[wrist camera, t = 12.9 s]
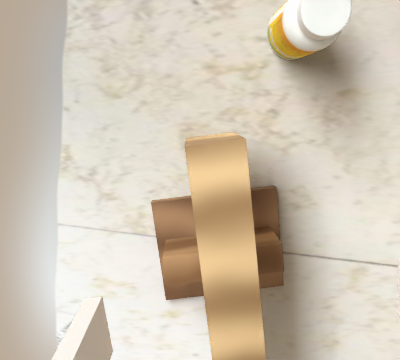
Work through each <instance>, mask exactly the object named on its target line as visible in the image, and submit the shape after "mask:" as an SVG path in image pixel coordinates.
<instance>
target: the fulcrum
mask: <svg viewBox="0 0 400 360" xmlns="http://www.w3.org/2000/svg"><path fill="white" fill-rule="evenodd" d="M250 189H251V200H252V211H253V222H254V233H255V243H256V254H257V265H258V276H259V287H260V288H267V287H275V286H283V271H284V265H283V251H282V243H281V242H280V231H279V217H278V204H277V190H276V187H275V186H266V187H258V188H250ZM151 205H152V211H153V218H154V224H155V231H156V237H157V244H158V250H159V257H160V263H161V270H162V276H163V283H164V289H165V296H166V300H171V299H179V298H187V297H195V296H203V295H204V291H203V283H202V276H201V268H200V260H199V252H198V245H197V237H196V229H195V221H194V214H193V206H192V198H191V196H185V197H177V198H169V199H160V200H152V202H151Z"/></svg>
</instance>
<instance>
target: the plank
mask: <svg viewBox="0 0 400 360" xmlns="http://www.w3.org/2000/svg"><path fill="white" fill-rule="evenodd" d="M185 152H186V159H187V167H188V175H189V183H190V190H191V198H192V206H193V214H194V221H195V229H196V237H197V245H198V252H199V260H200V268H201V276H202V283H203V291H204V299H205V306H206V314H207V322H208V330H209V337H210V345H211V353H212V360H266V352H265V341H264V331H263V320H262V309H261V298H260V287H259V276H258V265H257V254H256V243H255V233H254V222H253V211H252V200H251V189H250V178H249V167H248V156H247V146H246V139H245V138H243V137H242V136H240V135H238V134H236V133H234V132H231V133H223V134H214V135H206V136H198V137H190V138H186V140H185Z"/></svg>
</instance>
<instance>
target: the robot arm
mask: <svg viewBox="0 0 400 360" xmlns="http://www.w3.org/2000/svg"><path fill="white" fill-rule="evenodd" d="M398 316H399V317H400V260H398ZM112 352H113V350H112V344H111V339H110V334H109V329H108V324H107V319H106V314H105V309H104V303H103V298H102V296H101V297H93V298H85V299H84V301H83V303H82V305H81V306H80V308H79V310H78V312H77V314H76V315H75V317H74V319H73V321H72V323H71V325H70V326H69V328H68V330H67V332H66V334H65V336H64V337H63V339H62V341H61V343H60V345H59V347H58V348H57V351H56V352H55V354H54V356H53V358H52V360H110V358H111V355H112Z"/></svg>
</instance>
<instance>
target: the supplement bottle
mask: <svg viewBox="0 0 400 360" xmlns="http://www.w3.org/2000/svg"><path fill="white" fill-rule="evenodd" d="M350 15H351V0H287V1H286V2H285V3H284V4H283V5H282V6H281V7H280V8H279V9H278V10H277V11H276V13H275V14H274V15H273V16H272V18H271V20H270V22H269V25H268V29H267V37H268V42H269V45H270V47H271V49H272V50H273V51H274V53H275V54H277V55H278V56H279V57H281V58H284V59H287V60H294V59H299V58H302V57H304V56H307V55H309V54H312V53H314V52H316V51H319V50H322V49H324V48H326V47H327V46H329V45H330V44H331V43H333V42H334V41H335V40H336V38H337V37H338V36H339V34H340V33H341V30H342V29H343V28H344V27H345V26H346V24H347V22H348V20H349V18H350Z"/></svg>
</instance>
